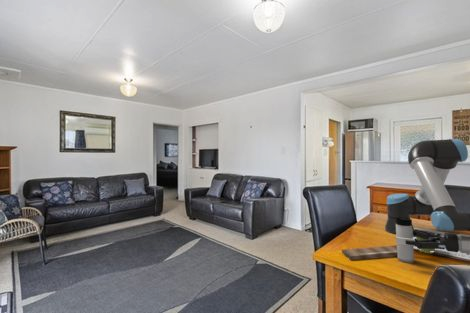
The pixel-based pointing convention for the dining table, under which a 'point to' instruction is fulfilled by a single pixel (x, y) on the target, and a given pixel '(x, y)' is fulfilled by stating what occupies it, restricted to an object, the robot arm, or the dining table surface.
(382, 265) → the dining table surface
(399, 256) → the travel mug
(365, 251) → the walnut board
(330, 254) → the dining table surface
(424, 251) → the plant pot
